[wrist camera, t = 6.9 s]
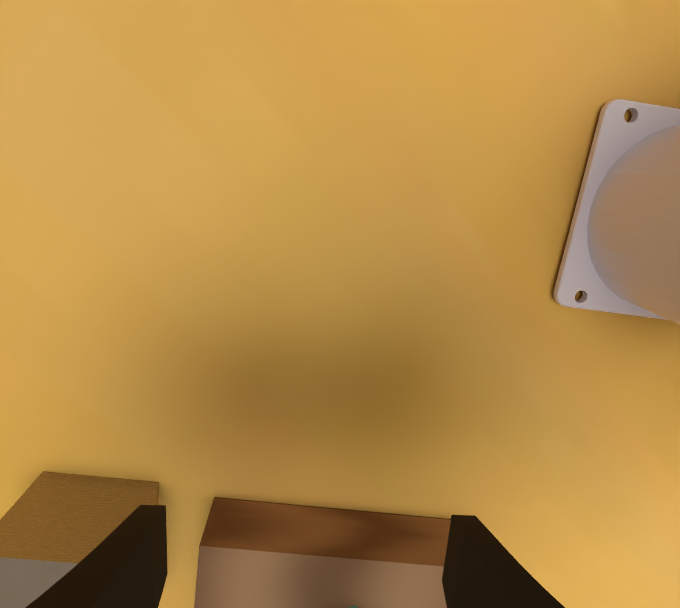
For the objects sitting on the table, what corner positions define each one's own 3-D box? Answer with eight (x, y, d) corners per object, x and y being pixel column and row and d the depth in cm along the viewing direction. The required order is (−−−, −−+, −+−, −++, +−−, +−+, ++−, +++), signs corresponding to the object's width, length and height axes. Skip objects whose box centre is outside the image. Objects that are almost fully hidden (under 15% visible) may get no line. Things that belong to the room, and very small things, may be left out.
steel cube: (159, 481, 23) (117, 566, 18) (154, 572, 24) (113, 674, 19) (44, 470, 22) (-31, 554, 17) (45, 563, 23) (-25, 666, 19)
